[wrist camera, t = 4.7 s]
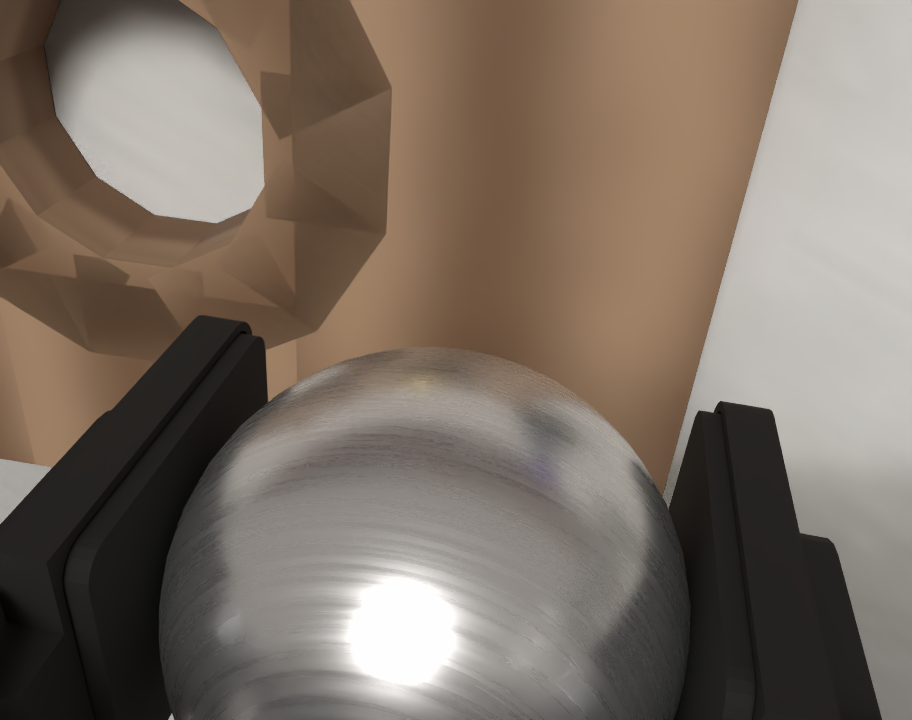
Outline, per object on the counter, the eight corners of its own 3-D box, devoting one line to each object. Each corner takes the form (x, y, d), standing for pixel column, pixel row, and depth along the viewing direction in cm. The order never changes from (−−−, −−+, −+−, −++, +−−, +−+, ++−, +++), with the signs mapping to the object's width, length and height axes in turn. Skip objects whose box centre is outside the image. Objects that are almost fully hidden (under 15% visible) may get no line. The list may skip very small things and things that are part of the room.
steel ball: (729, 300, 9) (804, 724, 5) (635, 624, 12) (631, 1073, 7) (267, 229, 9) (-30, 551, 5) (281, 553, 12) (93, 934, 8)
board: (872, -410, 16) (923, -457, 13) (640, 497, 27) (643, 564, 25) (-271, -490, 18) (-417, -545, 15) (-35, 390, 29) (-95, 443, 27)
